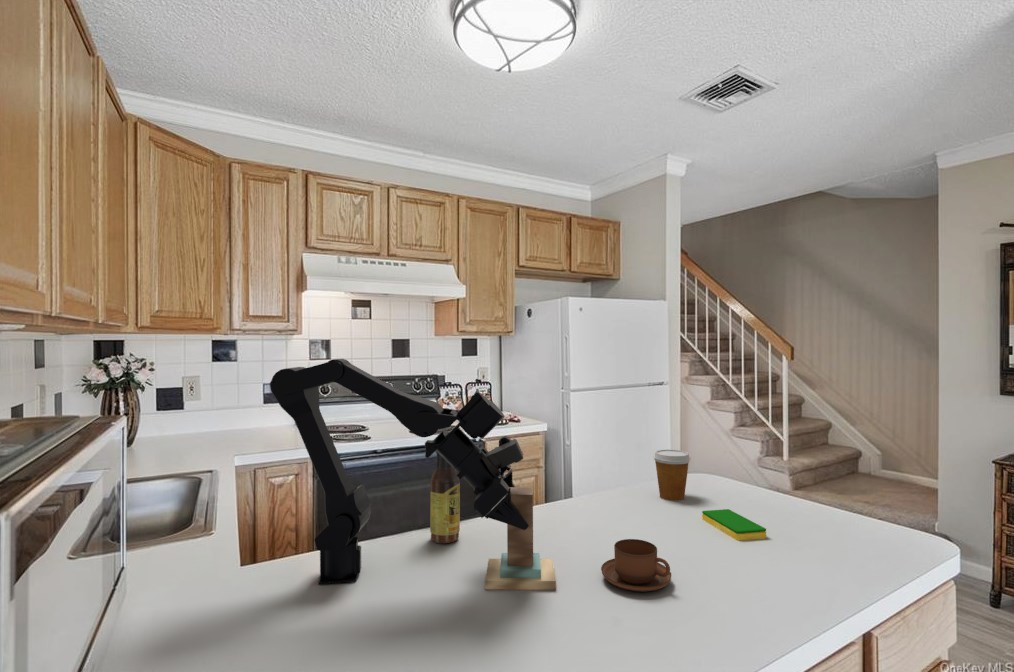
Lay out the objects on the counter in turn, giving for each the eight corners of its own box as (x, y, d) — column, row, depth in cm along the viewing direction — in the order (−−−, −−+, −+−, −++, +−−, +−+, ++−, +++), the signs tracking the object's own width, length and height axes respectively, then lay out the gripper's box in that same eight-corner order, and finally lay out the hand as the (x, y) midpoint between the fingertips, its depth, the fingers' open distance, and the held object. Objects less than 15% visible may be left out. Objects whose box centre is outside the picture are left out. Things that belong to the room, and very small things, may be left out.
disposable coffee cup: (686, 504, 135) (686, 458, 135) (649, 499, 140) (649, 454, 140) (694, 495, 144) (693, 451, 144) (658, 490, 148) (658, 447, 148)
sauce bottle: (454, 546, 109) (454, 449, 109) (426, 543, 110) (425, 448, 110) (463, 534, 115) (463, 443, 115) (436, 532, 117) (436, 442, 117)
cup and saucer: (672, 572, 97) (672, 538, 97) (670, 603, 85) (669, 565, 85) (606, 563, 101) (606, 531, 101) (596, 592, 89) (595, 555, 89)
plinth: (485, 589, 90) (485, 571, 90) (488, 566, 99) (488, 550, 99) (555, 589, 90) (555, 572, 90) (552, 567, 99) (552, 550, 99)
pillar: (507, 566, 92) (507, 494, 92) (508, 555, 97) (507, 487, 97) (533, 566, 92) (532, 494, 92) (532, 555, 96) (532, 487, 97)
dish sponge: (728, 518, 126) (728, 508, 126) (767, 540, 112) (767, 528, 112) (701, 520, 125) (701, 510, 125) (737, 542, 111) (737, 531, 111)
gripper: (493, 434, 85) (562, 503, 85) (499, 417, 104) (555, 473, 104) (445, 482, 85) (513, 551, 85) (459, 457, 104) (515, 513, 104)
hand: (526, 518), depth 94 cm, fingers open, 9 cm apart
